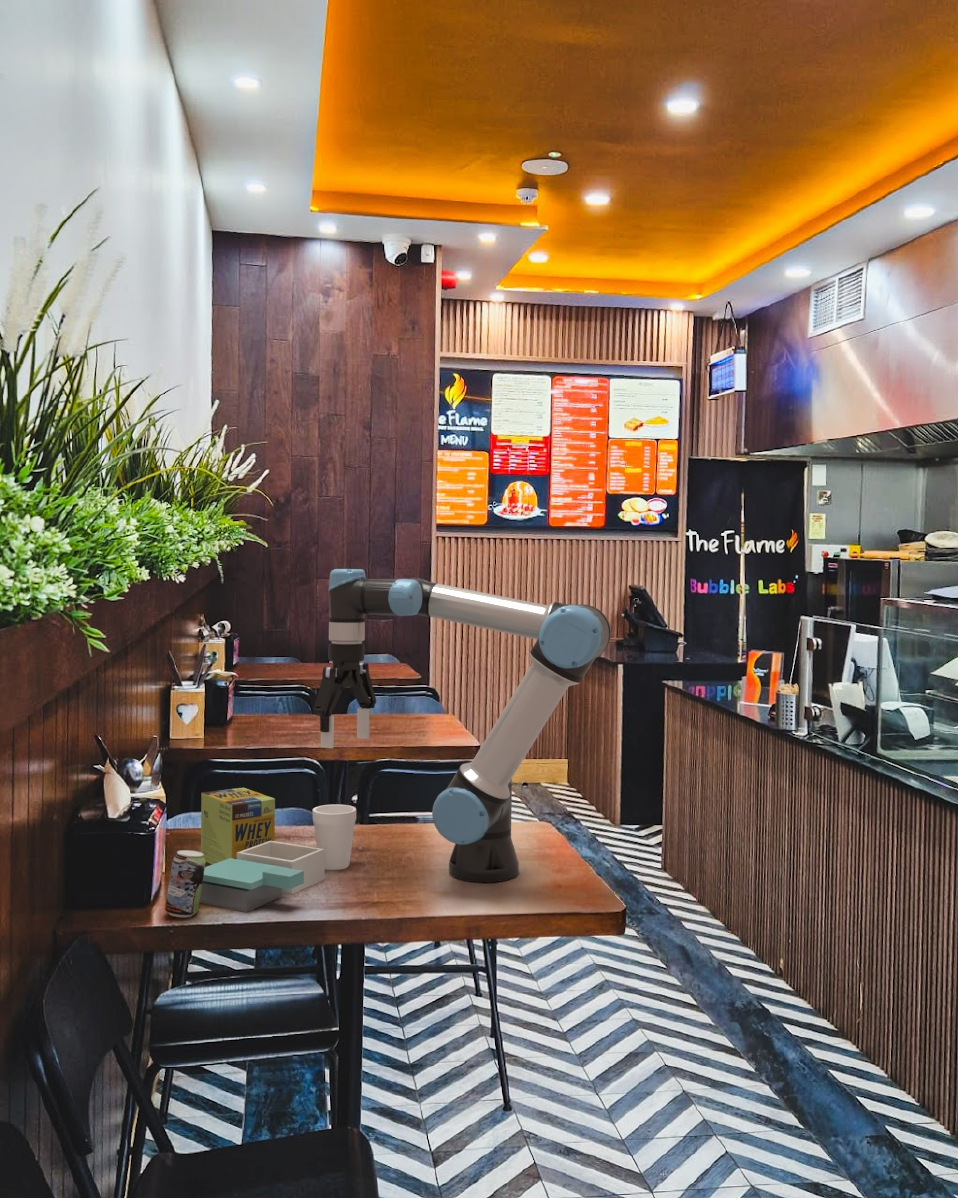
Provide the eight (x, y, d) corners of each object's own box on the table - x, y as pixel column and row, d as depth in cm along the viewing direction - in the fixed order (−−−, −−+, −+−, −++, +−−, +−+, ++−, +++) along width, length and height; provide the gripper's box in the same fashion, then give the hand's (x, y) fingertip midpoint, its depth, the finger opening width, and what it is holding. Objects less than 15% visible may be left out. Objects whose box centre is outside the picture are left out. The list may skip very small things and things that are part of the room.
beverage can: (159, 915, 198) (159, 852, 198) (194, 907, 203) (194, 845, 203) (175, 923, 194) (175, 858, 193) (211, 915, 199) (211, 851, 199)
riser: (282, 899, 209) (282, 876, 209) (246, 915, 199) (246, 891, 199) (234, 890, 214) (234, 868, 214) (196, 905, 204) (197, 882, 204)
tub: (324, 882, 220) (324, 849, 220) (292, 897, 210) (292, 862, 210) (269, 873, 226) (270, 840, 226) (236, 886, 216) (236, 852, 216)
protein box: (231, 877, 223) (231, 804, 222) (199, 861, 235) (200, 792, 234) (275, 869, 229) (276, 798, 229) (243, 854, 241) (243, 786, 241)
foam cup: (347, 876, 225) (347, 815, 224) (306, 873, 227) (306, 813, 226) (361, 864, 234) (361, 805, 234) (321, 861, 236) (321, 803, 236)
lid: (314, 881, 206) (314, 866, 206) (278, 897, 195) (278, 881, 195) (230, 866, 215) (230, 852, 215) (190, 881, 204) (190, 866, 204)
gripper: (363, 638, 235) (362, 733, 235) (296, 645, 212) (295, 750, 213) (392, 639, 231) (391, 736, 232) (327, 646, 209) (326, 753, 210)
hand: (345, 743), depth 222 cm, fingers open, 13 cm apart
